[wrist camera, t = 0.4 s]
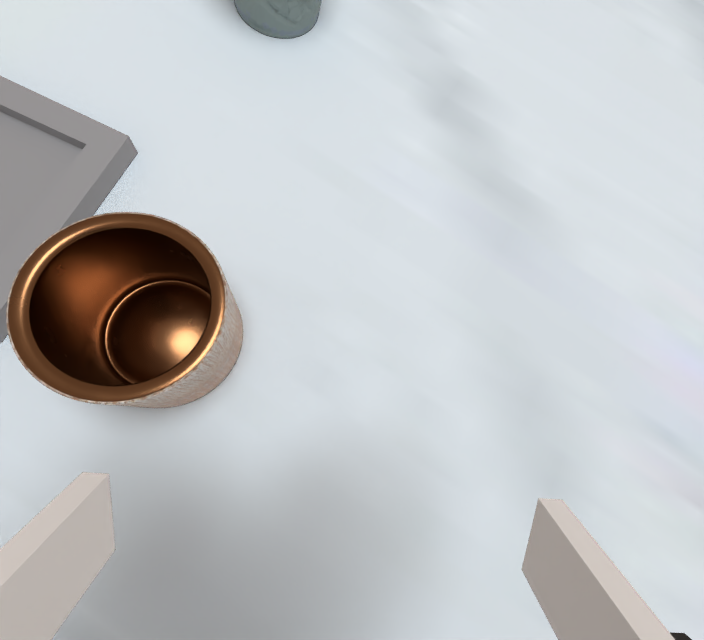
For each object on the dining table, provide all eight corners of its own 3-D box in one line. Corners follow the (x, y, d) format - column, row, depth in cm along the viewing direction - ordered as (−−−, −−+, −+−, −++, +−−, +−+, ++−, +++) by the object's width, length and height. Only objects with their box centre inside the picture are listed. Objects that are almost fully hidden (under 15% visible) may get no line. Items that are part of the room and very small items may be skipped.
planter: (58, 339, 27) (-52, 303, 18) (175, 244, 31) (132, 173, 21) (166, 439, 27) (111, 454, 18) (272, 333, 30) (270, 300, 21)
